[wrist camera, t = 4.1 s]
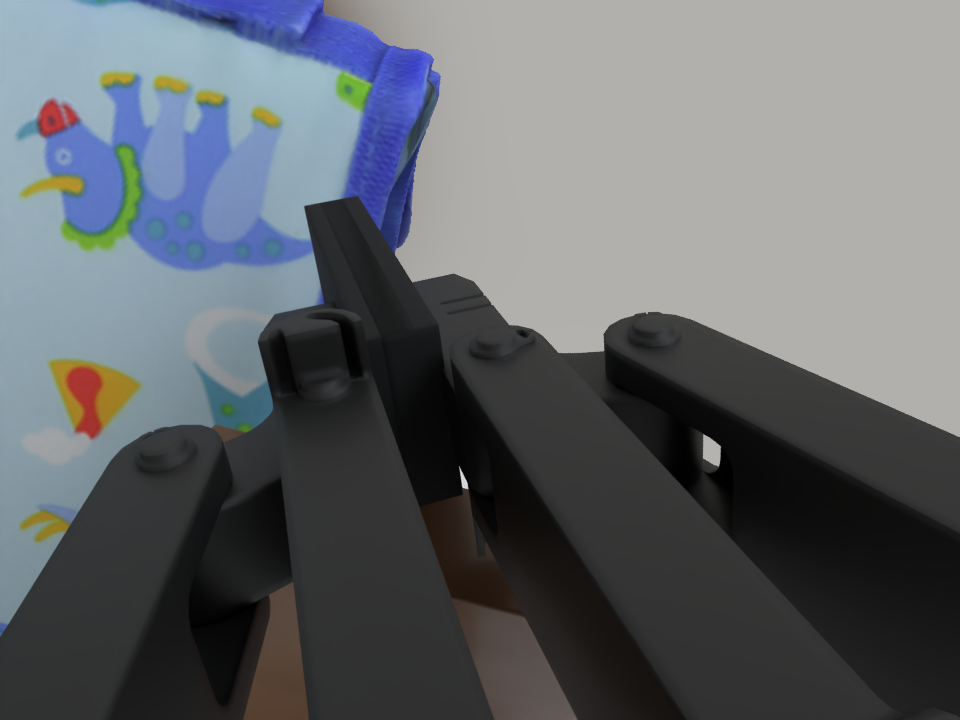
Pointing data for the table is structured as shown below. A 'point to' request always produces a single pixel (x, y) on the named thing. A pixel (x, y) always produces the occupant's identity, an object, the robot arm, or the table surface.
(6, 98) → the lunch bag
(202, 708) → the robot arm
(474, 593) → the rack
